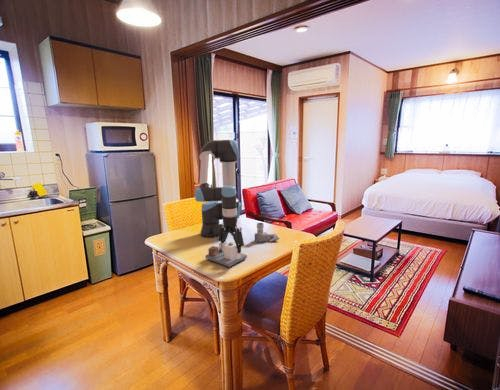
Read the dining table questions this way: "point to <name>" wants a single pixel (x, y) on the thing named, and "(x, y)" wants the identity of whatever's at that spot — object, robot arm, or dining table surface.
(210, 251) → the walnut part
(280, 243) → the dining table surface
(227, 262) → the grey flat block
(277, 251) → the dining table surface
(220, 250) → the metal part
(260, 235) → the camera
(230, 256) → the plastic part
